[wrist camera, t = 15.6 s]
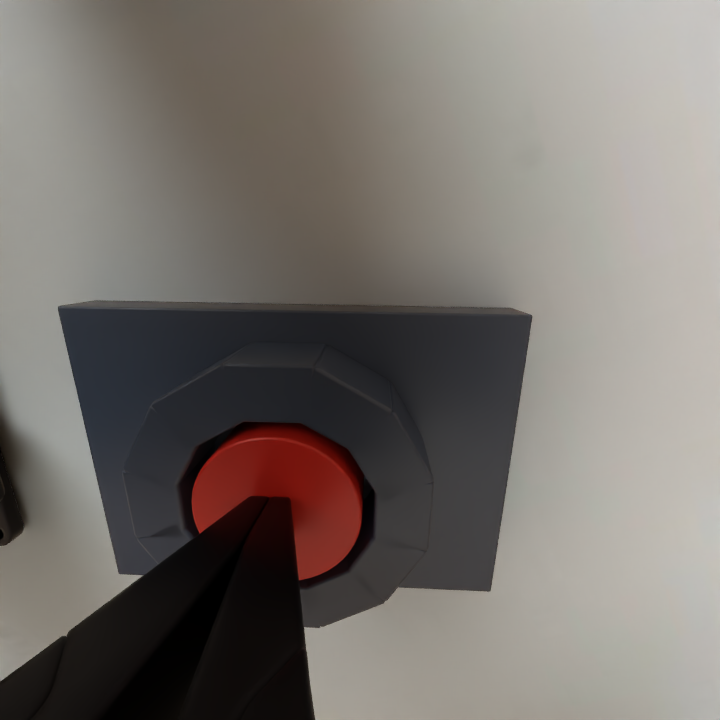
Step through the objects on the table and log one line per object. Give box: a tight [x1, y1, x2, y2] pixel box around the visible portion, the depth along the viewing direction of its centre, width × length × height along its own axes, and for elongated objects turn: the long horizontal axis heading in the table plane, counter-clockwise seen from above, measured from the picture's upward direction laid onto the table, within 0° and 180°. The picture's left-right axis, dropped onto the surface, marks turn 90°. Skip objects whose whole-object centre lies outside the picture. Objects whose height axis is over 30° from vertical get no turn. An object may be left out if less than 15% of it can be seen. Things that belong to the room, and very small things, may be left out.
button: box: [192, 422, 364, 580], centre depth 8 cm, size 4×4×2 cm
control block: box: [58, 301, 532, 628], centre depth 9 cm, size 11×8×3 cm
